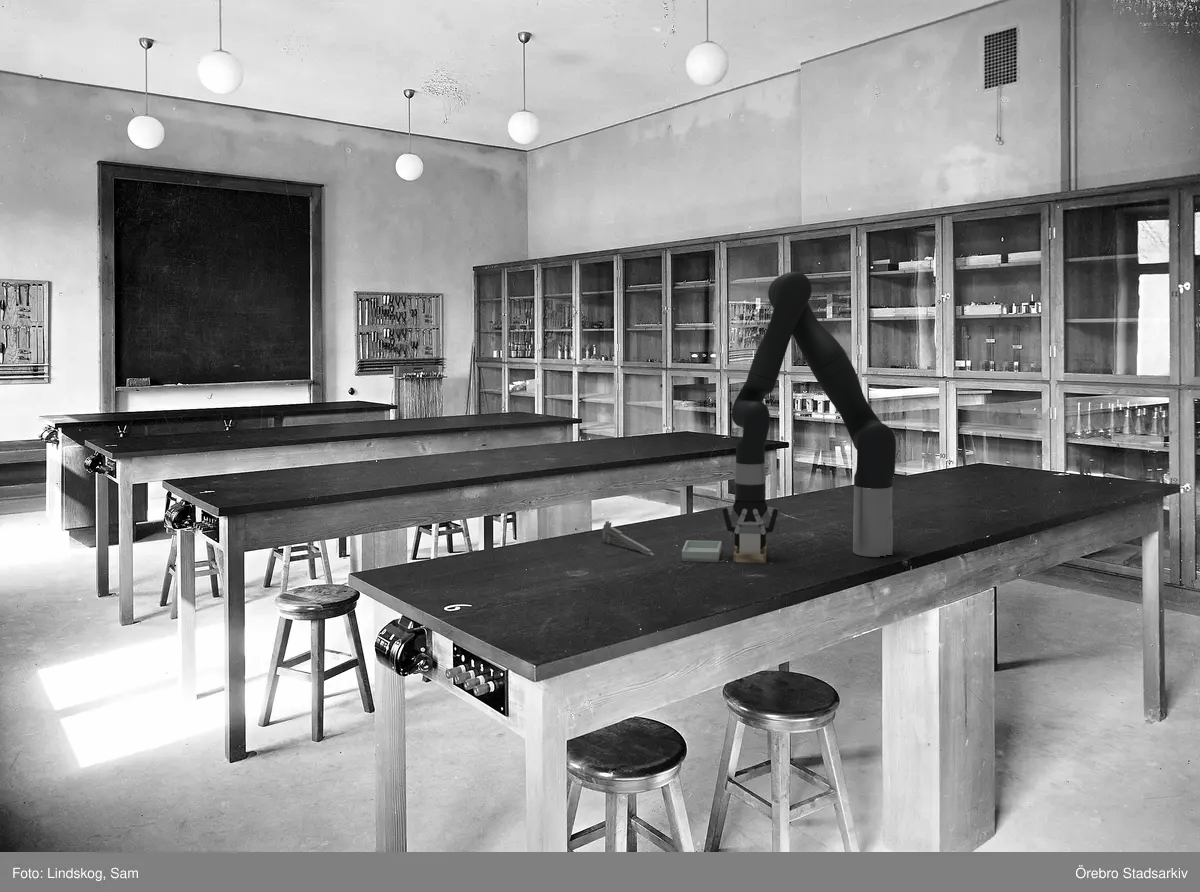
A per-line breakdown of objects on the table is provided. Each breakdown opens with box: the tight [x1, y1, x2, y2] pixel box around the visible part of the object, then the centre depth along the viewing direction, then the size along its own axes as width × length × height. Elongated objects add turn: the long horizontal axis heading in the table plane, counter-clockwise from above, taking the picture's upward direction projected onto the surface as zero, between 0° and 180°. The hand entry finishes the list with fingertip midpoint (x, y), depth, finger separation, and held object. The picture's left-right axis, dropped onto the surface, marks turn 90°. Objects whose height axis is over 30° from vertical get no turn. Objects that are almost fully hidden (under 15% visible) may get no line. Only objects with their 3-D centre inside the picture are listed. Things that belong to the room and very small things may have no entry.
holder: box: [732, 545, 767, 564], centre depth 229 cm, size 8×11×2 cm
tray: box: [681, 539, 722, 563], centre depth 231 cm, size 9×12×2 cm
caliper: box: [602, 520, 655, 557], centre depth 240 cm, size 20×1×6 cm, turn 37°
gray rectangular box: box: [739, 522, 762, 554], centre depth 228 cm, size 5×8×8 cm, turn 169°
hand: (750, 547), depth 228 cm, fingers closed on gray rectangular box, 5 cm apart
